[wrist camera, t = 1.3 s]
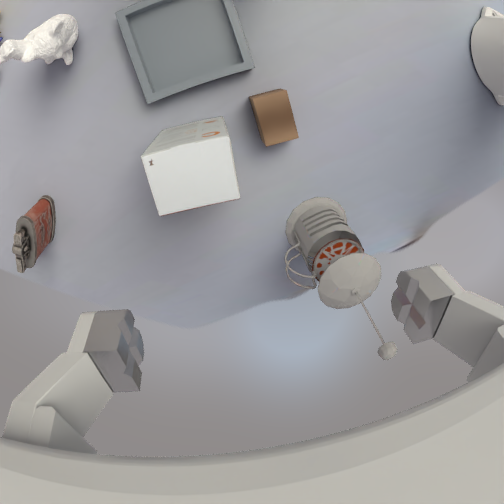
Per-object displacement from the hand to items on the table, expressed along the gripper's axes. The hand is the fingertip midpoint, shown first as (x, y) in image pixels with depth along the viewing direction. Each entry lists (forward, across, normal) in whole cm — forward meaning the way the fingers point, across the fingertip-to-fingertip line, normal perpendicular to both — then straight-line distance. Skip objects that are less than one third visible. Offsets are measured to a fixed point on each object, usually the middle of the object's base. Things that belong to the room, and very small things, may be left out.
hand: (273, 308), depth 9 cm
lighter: (+34, +28, +9) cm, 45 cm away
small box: (+33, +3, +2) cm, 33 cm away
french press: (+33, -12, +16) cm, 39 cm away
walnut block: (+33, -7, -1) cm, 34 cm away
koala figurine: (+33, +19, -15) cm, 41 cm away
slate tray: (+33, +3, -12) cm, 35 cm away
